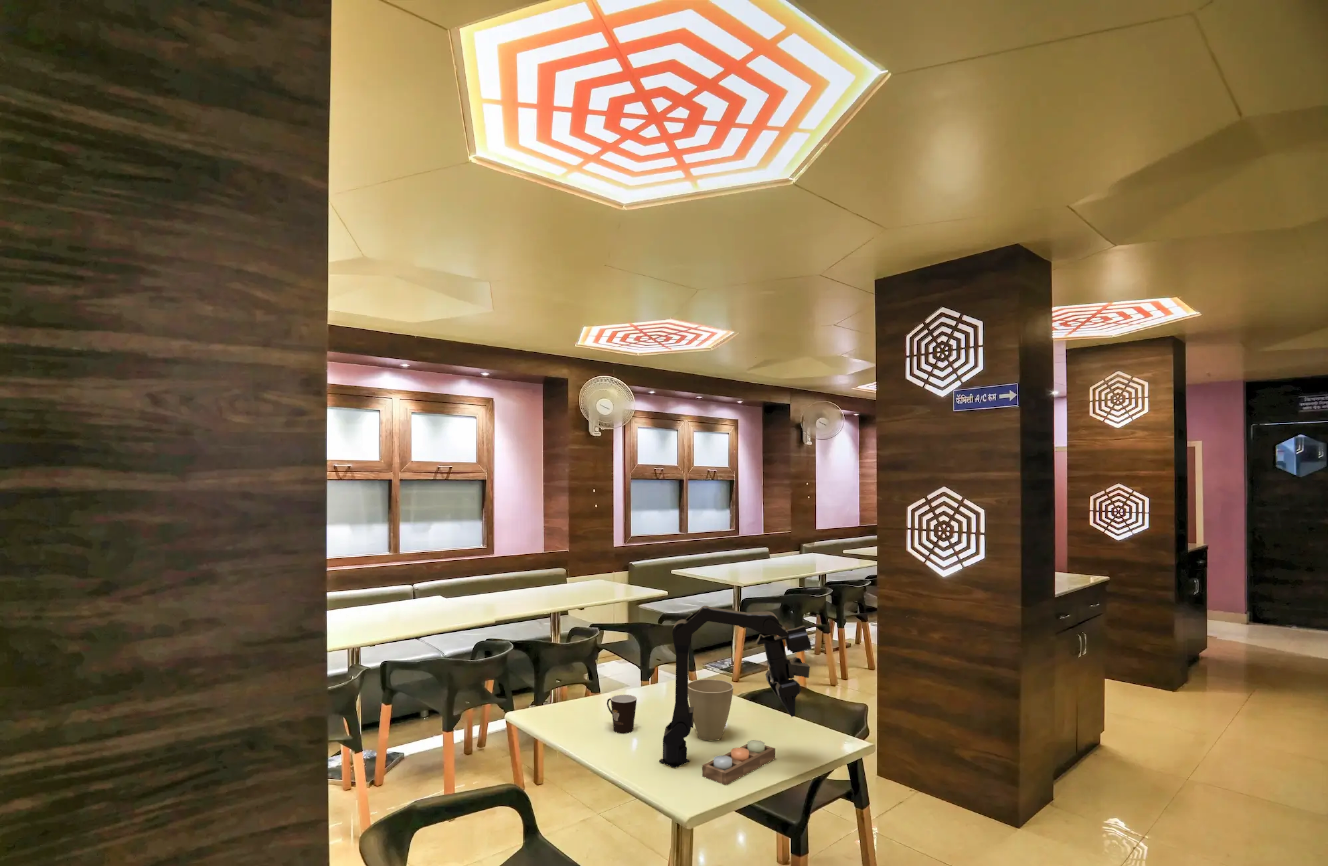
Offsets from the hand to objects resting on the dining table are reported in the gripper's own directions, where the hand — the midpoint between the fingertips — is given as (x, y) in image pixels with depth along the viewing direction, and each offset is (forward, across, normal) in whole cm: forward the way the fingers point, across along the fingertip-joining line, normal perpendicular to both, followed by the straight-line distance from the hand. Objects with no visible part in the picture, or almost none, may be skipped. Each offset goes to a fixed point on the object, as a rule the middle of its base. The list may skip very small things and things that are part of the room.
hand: (789, 711), depth 187 cm
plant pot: (+10, +24, +23) cm, 35 cm away
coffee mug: (+4, +33, +50) cm, 60 cm away
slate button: (+9, -5, +22) cm, 25 cm away
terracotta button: (+10, 0, +17) cm, 20 cm away
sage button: (+11, +6, +11) cm, 17 cm away
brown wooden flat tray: (+12, 0, +17) cm, 21 cm away
